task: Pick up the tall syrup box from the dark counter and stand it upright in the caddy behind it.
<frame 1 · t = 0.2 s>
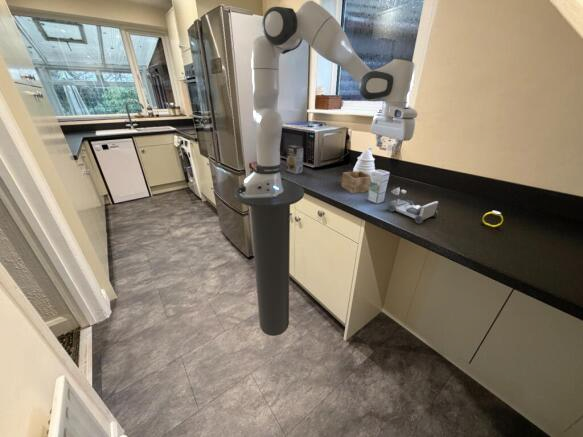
hand: (386, 148, 93), 26 cm above the counter, tool pointing down, fingers open, 8 cm apart
toy car: (408, 212, 100), on the counter
caddy: (355, 188, 125), on the counter
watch: (489, 226, 91), on the counter
syrup box: (375, 201, 111), on the counter
honey pot: (362, 177, 142), on the counter
coffee box: (294, 171, 151), on the counter
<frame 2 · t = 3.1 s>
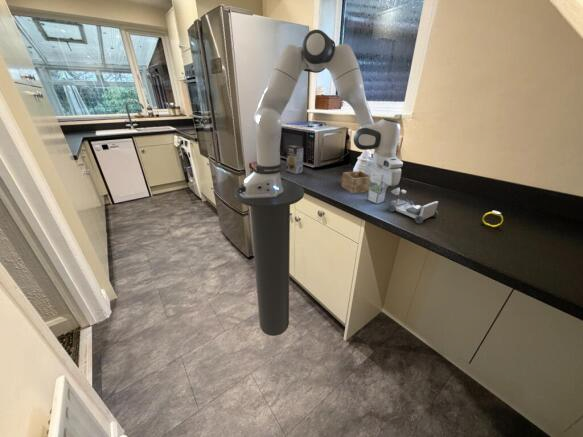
hand: (377, 188, 108), 6 cm above the counter, tool pointing down, fingers closed on syrup box, 6 cm apart
syrup box: (375, 201, 111), on the counter, touching gripper
everything else where it was.
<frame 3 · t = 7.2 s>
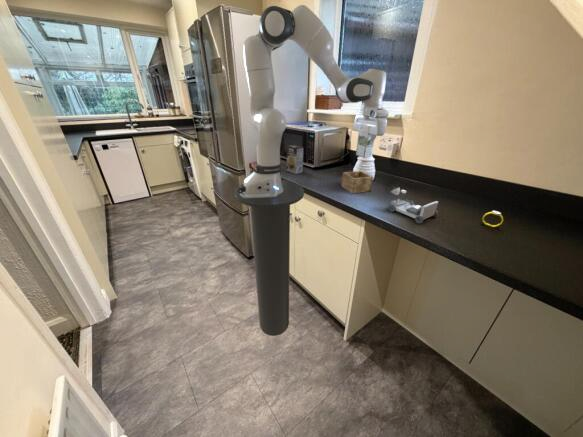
hand: (365, 143, 111), 24 cm above the counter, tool pointing down, fingers closed on syrup box, 6 cm apart
syrup box: (363, 156, 114), point 18 cm above the counter, touching gripper
everything else where it was.
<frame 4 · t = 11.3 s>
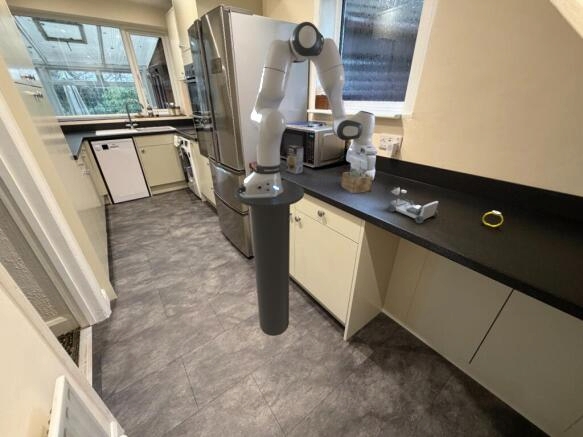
hand: (357, 174, 121), 8 cm above the counter, tool pointing down, fingers closed on syrup box, 6 cm apart
syrup box: (355, 185, 124), point 2 cm above the counter, touching gripper
everything else where it was.
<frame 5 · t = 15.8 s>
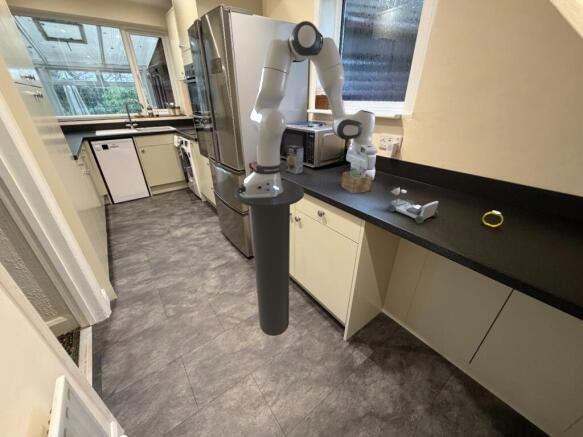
hand: (357, 173, 121), 8 cm above the counter, tool pointing down, fingers closed on syrup box, 6 cm apart
syrup box: (355, 185, 124), point 2 cm above the counter, touching gripper
everything else where it was.
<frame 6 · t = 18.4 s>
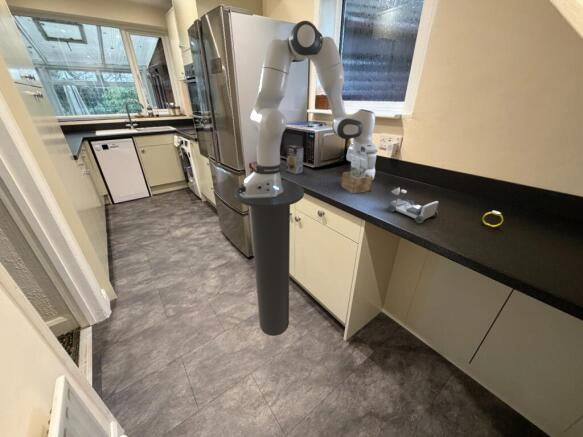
hand: (357, 173, 121), 9 cm above the counter, tool pointing down, fingers closed on syrup box, 6 cm apart
syrup box: (355, 184, 124), point 2 cm above the counter, touching gripper
everything else where it was.
when the fingers open (9 cm above the counter, at t = 20.3 s): syrup box drops 2 cm, resting on caddy.
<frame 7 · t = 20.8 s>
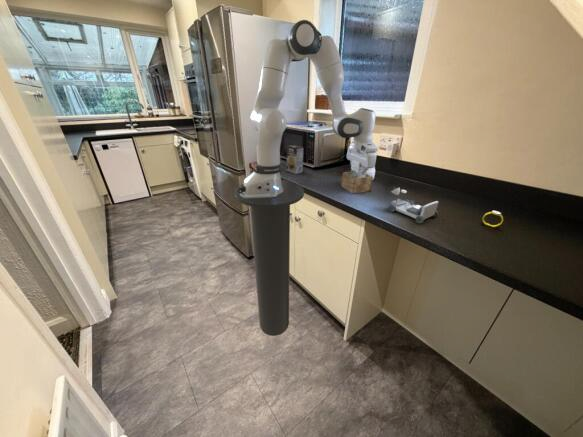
hand: (357, 172, 121), 9 cm above the counter, tool pointing down, fingers open, 8 cm apart
syrup box: (355, 187, 125), point 1 cm above the counter, touching caddy
everything else where it was.
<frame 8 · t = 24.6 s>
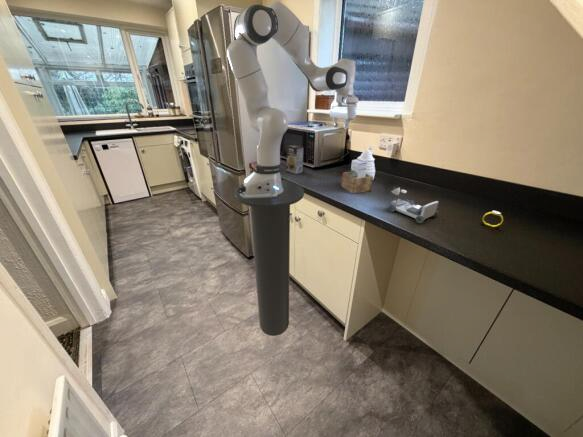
hand: (340, 128, 121), 29 cm above the counter, tool pointing down, fingers open, 8 cm apart
nothing on the counter moved.
at the end: syrup box inside the target area in the caddy (0.3 cm from its centre), point 0.6 cm above the caddy's base; syrup box tilted 0°; the gripper is holding nothing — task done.
